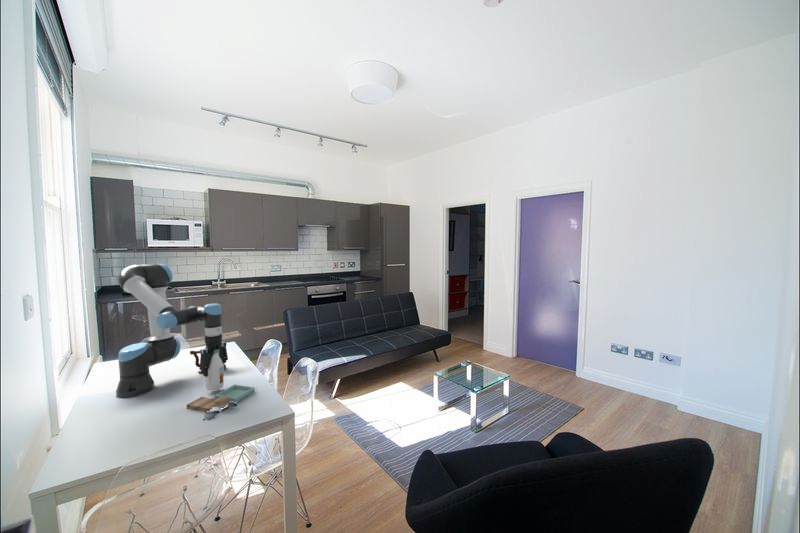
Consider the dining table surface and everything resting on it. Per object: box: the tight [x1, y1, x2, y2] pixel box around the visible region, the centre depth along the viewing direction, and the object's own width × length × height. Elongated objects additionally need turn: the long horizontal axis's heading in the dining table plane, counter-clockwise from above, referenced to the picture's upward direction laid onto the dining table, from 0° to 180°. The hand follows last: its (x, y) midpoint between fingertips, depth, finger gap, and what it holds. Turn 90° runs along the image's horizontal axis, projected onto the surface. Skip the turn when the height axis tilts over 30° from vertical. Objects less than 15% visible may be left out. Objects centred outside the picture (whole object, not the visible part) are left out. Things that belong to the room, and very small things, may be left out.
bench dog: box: [214, 396, 230, 408], centre depth 144 cm, size 3×5×5 cm, turn 164°
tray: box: [214, 384, 256, 404], centre depth 156 cm, size 12×12×2 cm
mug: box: [189, 347, 227, 374], centre depth 187 cm, size 18×12×15 cm, turn 129°
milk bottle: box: [205, 349, 224, 392], centre depth 160 cm, size 8×8×20 cm
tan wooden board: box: [186, 396, 216, 413], centre depth 146 cm, size 14×8×2 cm, turn 74°
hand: (214, 378), depth 161 cm, fingers closed on milk bottle, 8 cm apart
